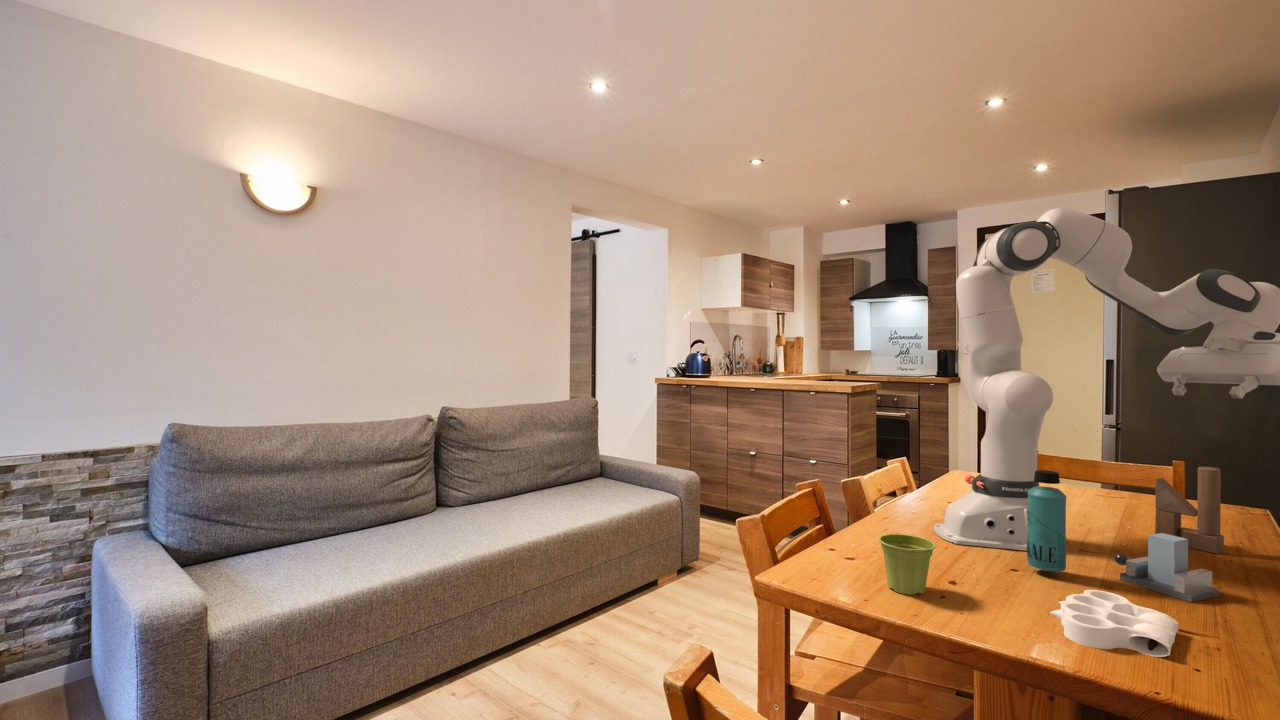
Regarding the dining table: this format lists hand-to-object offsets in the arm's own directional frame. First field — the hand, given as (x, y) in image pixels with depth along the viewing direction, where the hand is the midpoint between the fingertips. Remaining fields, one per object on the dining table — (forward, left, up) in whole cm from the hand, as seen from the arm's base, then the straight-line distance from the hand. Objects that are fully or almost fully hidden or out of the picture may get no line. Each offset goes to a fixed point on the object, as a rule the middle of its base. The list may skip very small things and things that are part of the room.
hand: (1205, 394), depth 119 cm
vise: (-16, -15, -34) cm, 41 cm away
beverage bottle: (-34, -11, -35) cm, 50 cm away
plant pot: (-63, -23, -35) cm, 76 cm away
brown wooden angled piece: (+6, +12, -35) cm, 37 cm away
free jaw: (-19, -10, -33) cm, 39 cm away
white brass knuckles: (-37, -35, -35) cm, 62 cm away
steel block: (-16, -15, -33) cm, 40 cm away
